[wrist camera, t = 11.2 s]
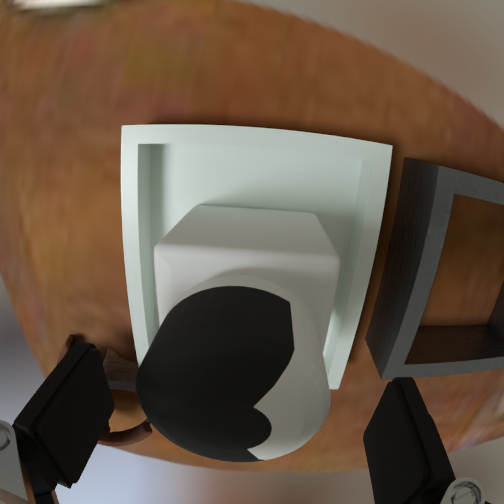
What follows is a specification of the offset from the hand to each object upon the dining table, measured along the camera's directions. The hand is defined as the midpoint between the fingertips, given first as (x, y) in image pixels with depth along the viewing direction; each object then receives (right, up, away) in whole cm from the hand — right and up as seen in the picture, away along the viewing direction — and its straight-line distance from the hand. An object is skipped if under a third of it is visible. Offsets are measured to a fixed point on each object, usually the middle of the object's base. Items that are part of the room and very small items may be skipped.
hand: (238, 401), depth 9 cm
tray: (0, +4, +11) cm, 12 cm away
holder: (+16, +4, +10) cm, 19 cm away
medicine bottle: (0, +4, +10) cm, 11 cm away
